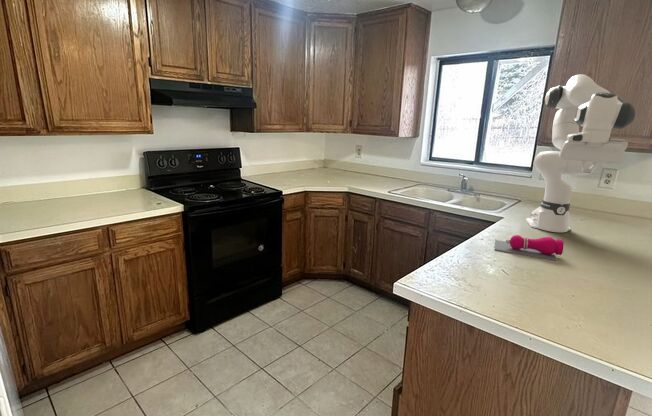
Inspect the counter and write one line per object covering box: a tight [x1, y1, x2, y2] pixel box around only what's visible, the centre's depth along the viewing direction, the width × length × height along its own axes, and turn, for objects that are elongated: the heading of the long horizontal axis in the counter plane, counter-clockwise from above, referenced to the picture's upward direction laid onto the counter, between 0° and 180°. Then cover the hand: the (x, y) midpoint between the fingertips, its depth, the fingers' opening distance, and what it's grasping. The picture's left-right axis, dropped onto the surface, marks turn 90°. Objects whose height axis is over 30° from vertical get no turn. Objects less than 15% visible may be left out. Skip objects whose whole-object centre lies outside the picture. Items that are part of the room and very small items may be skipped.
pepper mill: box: [505, 234, 564, 256], centre depth 144 cm, size 7×7×20 cm
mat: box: [494, 239, 557, 262], centre depth 147 cm, size 22×13×1 cm, turn 64°
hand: (586, 172), depth 138 cm, fingers closed
